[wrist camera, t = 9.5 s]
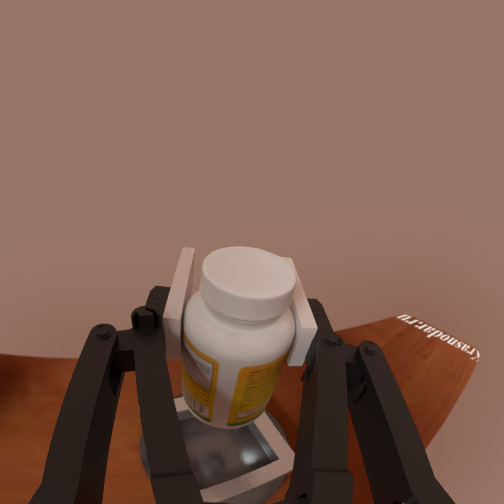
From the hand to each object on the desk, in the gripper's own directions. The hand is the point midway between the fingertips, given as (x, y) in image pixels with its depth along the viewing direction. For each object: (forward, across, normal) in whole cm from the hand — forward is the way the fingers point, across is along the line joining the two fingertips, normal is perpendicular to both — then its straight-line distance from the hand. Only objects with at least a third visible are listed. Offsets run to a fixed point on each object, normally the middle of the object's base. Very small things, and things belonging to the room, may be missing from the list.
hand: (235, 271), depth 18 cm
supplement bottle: (-5, 0, -6) cm, 8 cm away
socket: (-5, 0, -17) cm, 17 cm away
